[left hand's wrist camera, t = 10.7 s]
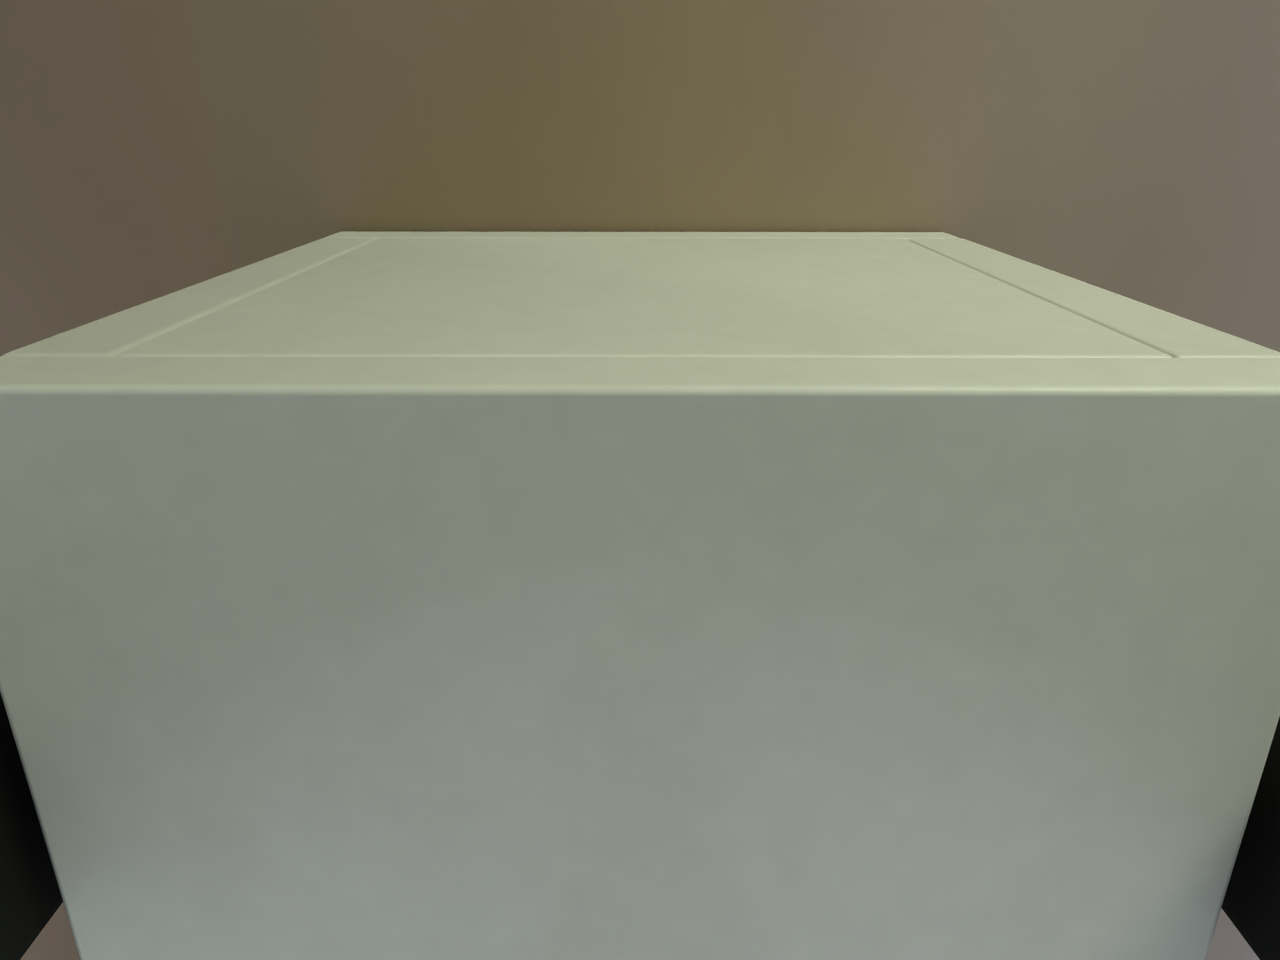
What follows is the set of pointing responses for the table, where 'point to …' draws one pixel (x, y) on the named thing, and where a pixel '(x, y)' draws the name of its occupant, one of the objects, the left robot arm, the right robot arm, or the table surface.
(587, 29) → the table surface
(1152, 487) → the cabinet
